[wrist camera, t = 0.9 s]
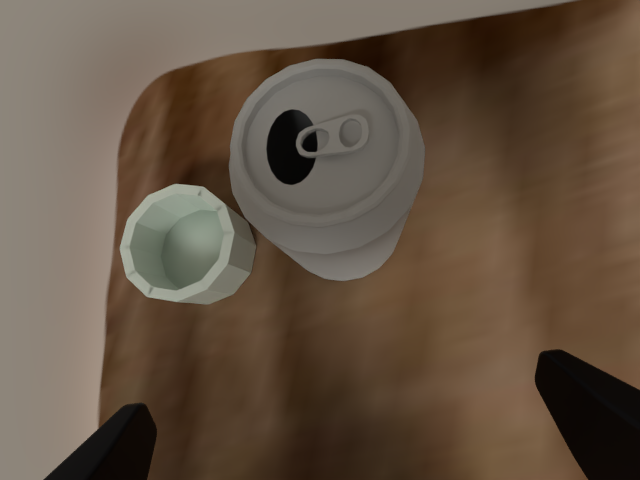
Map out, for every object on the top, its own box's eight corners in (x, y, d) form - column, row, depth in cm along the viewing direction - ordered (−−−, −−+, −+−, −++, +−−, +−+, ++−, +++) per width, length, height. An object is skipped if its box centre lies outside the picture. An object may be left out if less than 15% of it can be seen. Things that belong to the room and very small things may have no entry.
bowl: (243, 310, 23) (218, 308, 19) (150, 295, 24) (108, 290, 20) (263, 211, 24) (243, 190, 20) (173, 201, 25) (138, 179, 21)
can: (286, 177, 24) (213, 50, 13) (395, 169, 23) (422, 24, 12) (287, 284, 23) (204, 250, 11) (404, 280, 22) (446, 237, 10)
